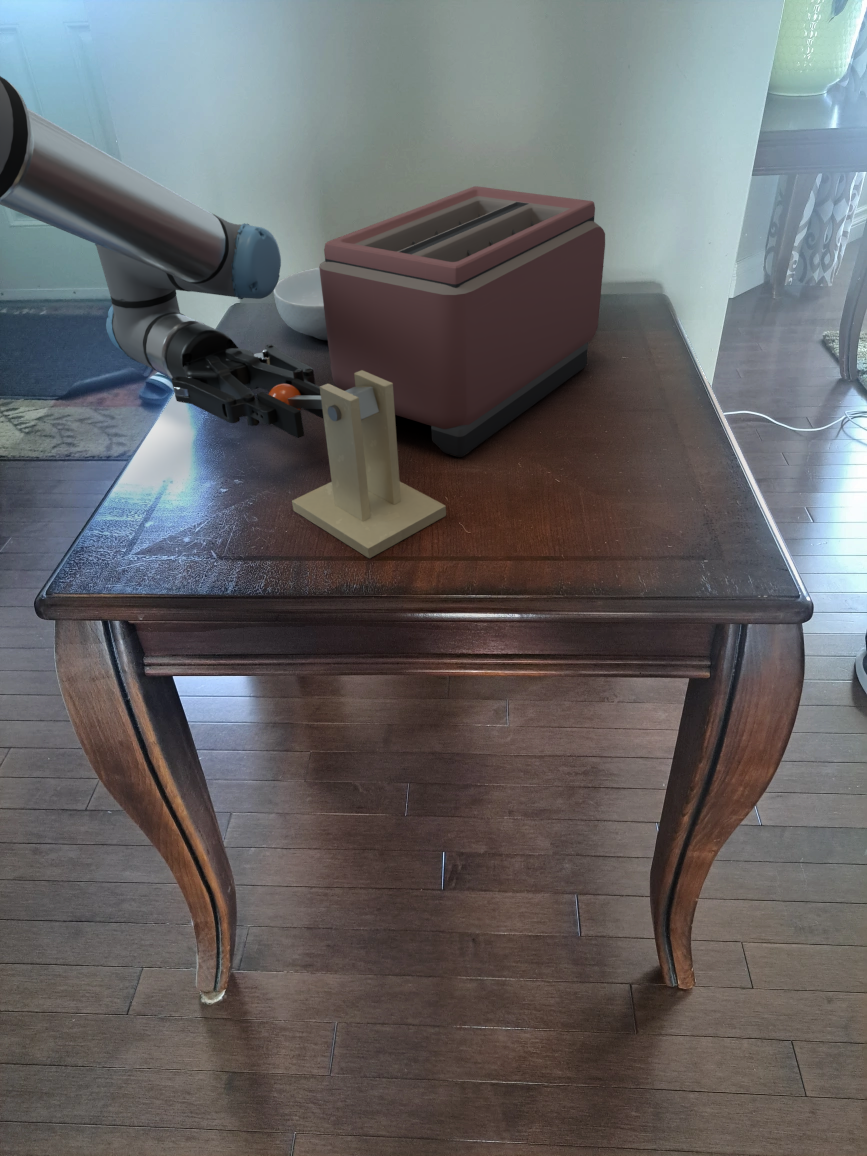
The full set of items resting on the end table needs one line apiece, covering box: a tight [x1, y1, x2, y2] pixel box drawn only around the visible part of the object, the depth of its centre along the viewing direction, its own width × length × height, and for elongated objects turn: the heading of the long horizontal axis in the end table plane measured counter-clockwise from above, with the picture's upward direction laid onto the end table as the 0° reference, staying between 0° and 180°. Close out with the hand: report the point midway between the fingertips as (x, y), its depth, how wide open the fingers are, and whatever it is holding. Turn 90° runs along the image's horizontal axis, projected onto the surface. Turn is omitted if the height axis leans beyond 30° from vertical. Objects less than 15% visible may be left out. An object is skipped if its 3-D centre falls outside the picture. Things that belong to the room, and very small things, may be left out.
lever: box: [267, 384, 379, 420], centre depth 81 cm, size 16×4×4 cm, turn 44°
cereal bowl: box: [273, 267, 328, 341], centre depth 121 cm, size 17×17×7 cm
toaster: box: [318, 185, 606, 458], centre depth 99 cm, size 19×36×21 cm, turn 144°
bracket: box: [291, 370, 447, 559], centre depth 79 cm, size 12×10×14 cm
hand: (316, 417), depth 82 cm, fingers closed on lever, 4 cm apart
